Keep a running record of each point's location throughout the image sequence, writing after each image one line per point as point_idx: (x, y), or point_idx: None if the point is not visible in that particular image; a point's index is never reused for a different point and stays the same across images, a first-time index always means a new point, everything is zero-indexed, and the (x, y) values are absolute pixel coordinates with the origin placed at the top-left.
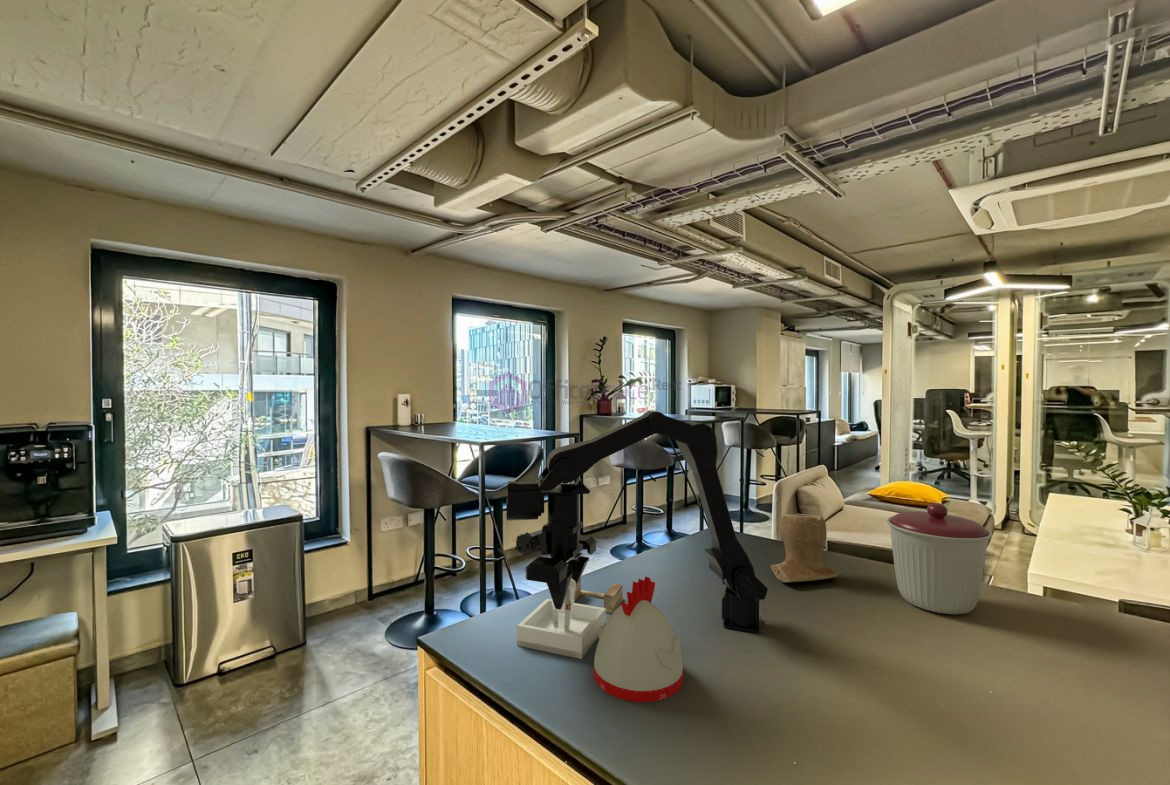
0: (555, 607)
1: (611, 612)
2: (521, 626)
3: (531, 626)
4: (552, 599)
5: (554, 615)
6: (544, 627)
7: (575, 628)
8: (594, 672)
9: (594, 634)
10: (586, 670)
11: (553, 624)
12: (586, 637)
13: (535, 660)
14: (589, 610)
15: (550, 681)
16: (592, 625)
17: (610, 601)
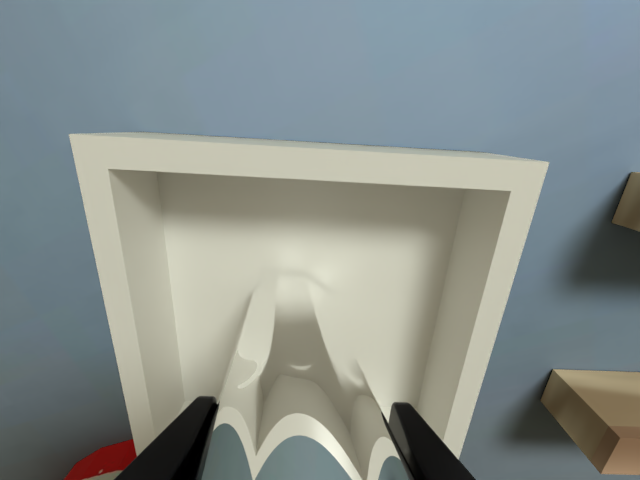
0: (195, 403)
1: (544, 396)
2: (77, 168)
3: (109, 232)
4: (132, 462)
5: (239, 338)
6: (302, 216)
7: None
8: (98, 460)
9: None
10: (126, 421)
11: (265, 293)
12: None
13: (83, 260)
14: (442, 407)
15: (4, 353)
16: None
17: (581, 434)
